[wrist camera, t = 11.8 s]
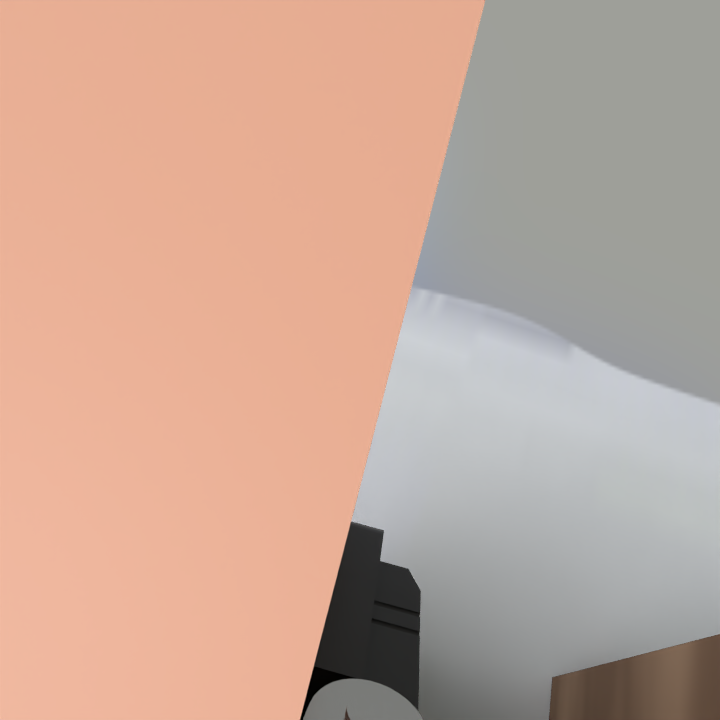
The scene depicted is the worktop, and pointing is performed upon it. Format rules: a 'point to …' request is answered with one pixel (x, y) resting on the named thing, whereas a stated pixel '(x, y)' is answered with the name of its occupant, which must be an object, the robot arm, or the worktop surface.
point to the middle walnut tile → (644, 686)
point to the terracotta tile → (199, 331)
